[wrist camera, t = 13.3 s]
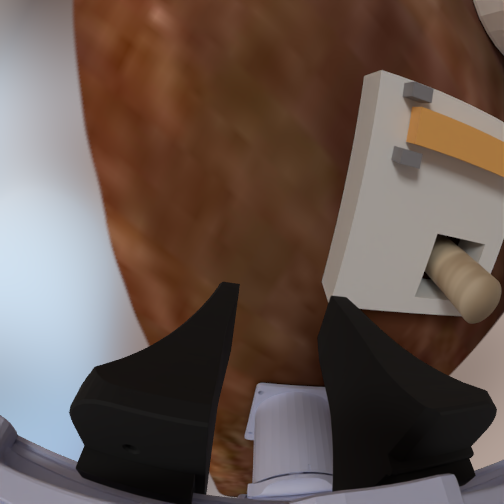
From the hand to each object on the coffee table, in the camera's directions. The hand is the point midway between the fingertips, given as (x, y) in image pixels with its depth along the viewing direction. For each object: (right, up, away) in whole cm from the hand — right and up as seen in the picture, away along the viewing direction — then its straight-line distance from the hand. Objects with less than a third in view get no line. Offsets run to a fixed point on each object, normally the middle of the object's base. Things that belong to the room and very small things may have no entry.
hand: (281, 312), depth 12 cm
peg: (+12, +2, +9) cm, 15 cm away
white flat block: (+11, +6, +7) cm, 14 cm away
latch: (+11, +8, +3) cm, 14 cm away
